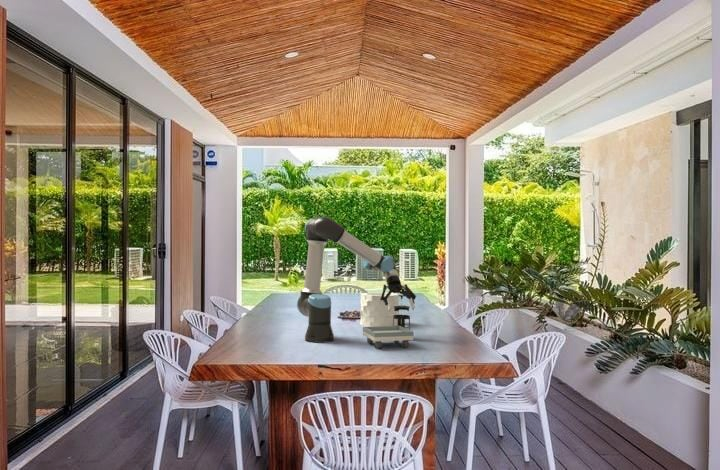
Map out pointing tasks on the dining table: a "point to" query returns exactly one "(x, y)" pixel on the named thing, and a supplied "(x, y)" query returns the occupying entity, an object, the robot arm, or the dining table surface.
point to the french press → (401, 317)
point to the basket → (378, 309)
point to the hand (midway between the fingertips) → (401, 309)
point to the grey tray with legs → (387, 335)
